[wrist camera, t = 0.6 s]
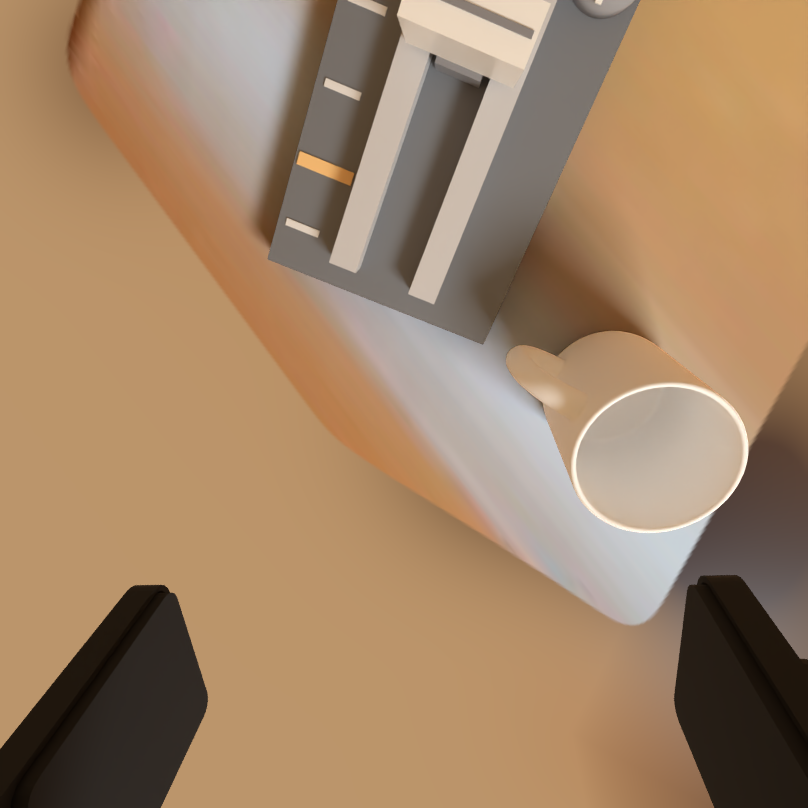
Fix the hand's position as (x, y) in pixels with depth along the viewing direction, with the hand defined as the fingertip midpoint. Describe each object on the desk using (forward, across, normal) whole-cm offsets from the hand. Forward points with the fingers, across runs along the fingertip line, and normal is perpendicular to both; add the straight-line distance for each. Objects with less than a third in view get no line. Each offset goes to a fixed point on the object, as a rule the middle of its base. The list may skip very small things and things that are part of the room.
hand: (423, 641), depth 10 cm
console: (+27, -1, -11) cm, 29 cm away
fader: (+25, -2, -14) cm, 29 cm away
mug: (+27, -8, +5) cm, 29 cm away
